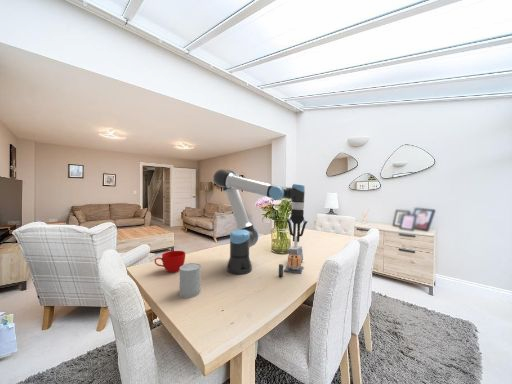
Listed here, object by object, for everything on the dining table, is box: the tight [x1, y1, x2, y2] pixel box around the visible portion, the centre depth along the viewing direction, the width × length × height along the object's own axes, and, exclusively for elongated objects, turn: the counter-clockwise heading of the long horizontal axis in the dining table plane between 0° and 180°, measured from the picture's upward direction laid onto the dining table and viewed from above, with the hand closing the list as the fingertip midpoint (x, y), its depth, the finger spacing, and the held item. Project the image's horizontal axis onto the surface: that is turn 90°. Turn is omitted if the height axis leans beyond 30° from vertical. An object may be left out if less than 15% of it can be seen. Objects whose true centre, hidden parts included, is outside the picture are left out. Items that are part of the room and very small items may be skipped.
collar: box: [287, 254, 302, 267], centre depth 130 cm, size 8×8×5 cm
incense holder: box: [286, 245, 304, 262], centre depth 144 cm, size 10×8×10 cm
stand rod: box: [278, 263, 284, 278], centre depth 120 cm, size 2×2×6 cm
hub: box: [283, 264, 305, 275], centre depth 130 cm, size 10×10×7 cm
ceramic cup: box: [154, 250, 186, 273], centre depth 126 cm, size 13×17×10 cm
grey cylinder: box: [179, 262, 202, 299], centre depth 100 cm, size 10×10×12 cm
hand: (295, 246), depth 131 cm, fingers closed
